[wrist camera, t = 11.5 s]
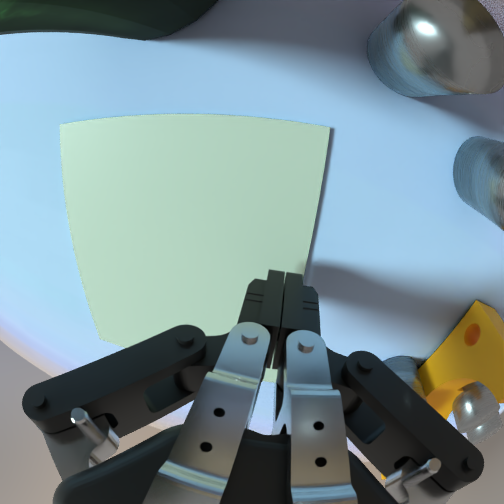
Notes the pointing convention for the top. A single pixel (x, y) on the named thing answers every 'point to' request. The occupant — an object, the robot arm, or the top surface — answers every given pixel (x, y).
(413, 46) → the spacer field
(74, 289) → the top surface
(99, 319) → the pad
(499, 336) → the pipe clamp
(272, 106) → the top surface
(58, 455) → the robot arm
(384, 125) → the top surface
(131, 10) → the potion bottle
